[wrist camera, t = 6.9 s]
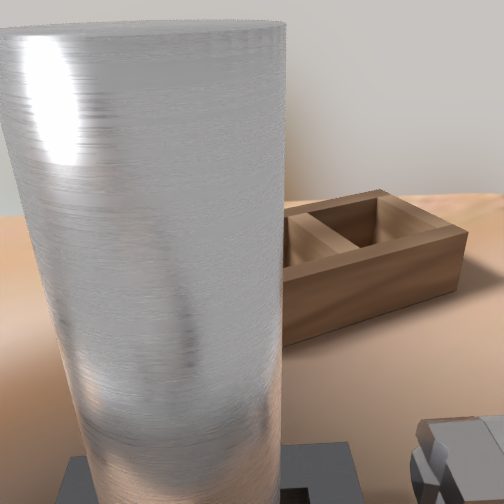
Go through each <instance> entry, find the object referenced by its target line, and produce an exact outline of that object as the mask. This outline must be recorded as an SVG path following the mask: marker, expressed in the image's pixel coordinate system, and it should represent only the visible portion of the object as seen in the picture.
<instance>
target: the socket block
mask: <svg viewBox="0 0 504 504" xmlns="http://www.w3.org/2000/svg"><path fill="white" fill-rule="evenodd" d="M55 504H99V502H98V498H97V494H96V490H95V486H94V482H93V478H92V474H91V471H90V467H89V463H88V459H87V456H77V457H71V458H70V461H69V464H68V467H67V470H66V473H65V476H64V479H63V482H62V485H61V488H60V491H59V494H58V497H57V500H56V503H55ZM280 504H365V502H364V499H363V495H362V491H361V488H360V484H359V481H358V477H357V473H356V470H355V466H354V463H353V459H352V455H351V452H350V448H349V445H348V442H337V443H318V444H300V445H281V458H280Z"/></svg>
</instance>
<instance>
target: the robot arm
mask: <svg viewBox="0 0 504 504" xmlns="http://www.w3.org/2000/svg"><path fill="white" fill-rule="evenodd" d="M416 437H417V439H418V442H419V444H420V445H419V446H418V447H417V448H416V449H415V450H413V451H412V455H411V462H410V471H411V481H412V486H413V490H414V493H415V496H416V499H417V502H418V504H504V415H496V416H478V417H474V416H471V417H455V418H439V419H424V420H421V421H420V422H419V423H418V426H417V430H416Z"/></svg>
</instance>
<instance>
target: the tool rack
mask: <svg viewBox="0 0 504 504" xmlns="http://www.w3.org/2000/svg"><path fill="white" fill-rule="evenodd" d="M467 237H468V231H466V230H464V229H462V228H460V227H457V226H455V225H453V224H451V223H449V222H447V221H445V220H443V219H441V218H439V217H437V216H435V215H433V214H430V213H428V212H426V211H424V210H422V209H420V208H418V207H416V206H414V205H412V204H410V203H408V202H406V201H403V200H401V199H399V198H397V197H395V196H393V195H391V194H389V193H387V192H385V191H383V190H381V189H379V190H374V191H369V192H364V193H360V194H355V195H350V196H345V197H340V198H335V199H330V200H326V201H321V202H316V203H311V204H306V205H301V206H297V207H292V208H287V209H284V233H283V308H282V347H284V346H287V345H291V344H294V343H297V342H300V341H303V340H306V339H309V338H312V337H315V336H318V335H321V334H324V333H327V332H330V331H333V330H336V329H339V328H342V327H345V326H348V325H352V324H355V323H358V322H361V321H364V320H367V319H370V318H373V317H376V316H379V315H382V314H385V313H388V312H391V311H394V310H397V309H400V308H403V307H406V306H409V305H413V304H416V303H419V302H422V301H425V300H428V299H431V298H434V297H437V296H440V295H443V294H446V293H449V292H452V291H455V290H456V289H457V284H458V279H459V275H460V270H461V265H462V260H463V256H464V251H465V246H466V241H467Z"/></svg>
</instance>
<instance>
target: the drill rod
mask: <svg viewBox="0 0 504 504" xmlns="http://www.w3.org/2000/svg"><path fill="white" fill-rule="evenodd" d="M285 79H286V23H284V22H279V21H265V20H146V21H115V22H114V21H113V22H89V23H68V24H51V25H35V26H21V27H9V28H0V122H1V126H2V130H3V133H4V137H5V141H6V145H7V149H8V153H9V156H10V161H11V165H12V168H13V172H14V176H15V180H16V184H17V188H18V191H19V196H20V199H21V203H22V207H23V211H24V215H25V219H26V223H27V226H28V230H29V234H30V238H31V242H32V246H33V250H34V254H35V257H36V261H37V265H38V269H39V273H40V277H41V281H42V285H43V288H44V292H45V296H46V300H47V304H48V308H49V312H50V316H51V319H52V323H53V327H54V331H55V335H56V339H57V343H58V347H59V350H60V354H61V358H62V362H63V366H64V370H65V374H66V378H67V381H68V385H69V389H70V393H71V397H72V401H73V405H74V409H75V412H76V416H77V420H78V424H79V428H80V432H81V436H82V440H83V443H84V447H85V451H86V455H87V459H88V463H89V467H90V471H91V474H92V478H93V482H94V486H95V490H96V494H97V498H98V502H99V504H280V458H281V383H282V308H283V233H284V158H285V154H284V153H285V83H286V82H285V81H286V80H285Z"/></svg>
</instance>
